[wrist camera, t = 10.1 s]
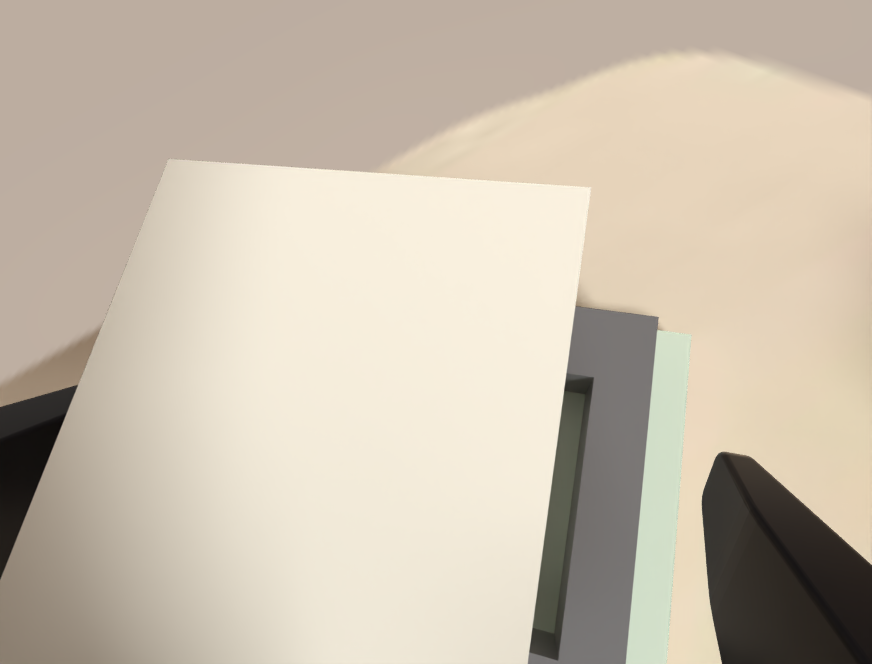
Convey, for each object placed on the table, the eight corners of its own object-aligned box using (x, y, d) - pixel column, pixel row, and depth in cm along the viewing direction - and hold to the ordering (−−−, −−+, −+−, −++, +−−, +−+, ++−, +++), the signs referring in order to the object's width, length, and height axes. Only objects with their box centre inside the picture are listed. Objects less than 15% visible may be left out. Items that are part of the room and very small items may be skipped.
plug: (524, 586, 15) (483, 1008, 3) (396, 553, 16) (-71, 755, 4) (552, 382, 16) (607, 66, 4) (435, 364, 17) (207, 60, 5)
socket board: (646, 746, 14) (685, 834, 11) (274, 627, 17) (202, 664, 13) (678, 347, 18) (718, 307, 14) (360, 302, 20) (321, 259, 17)
